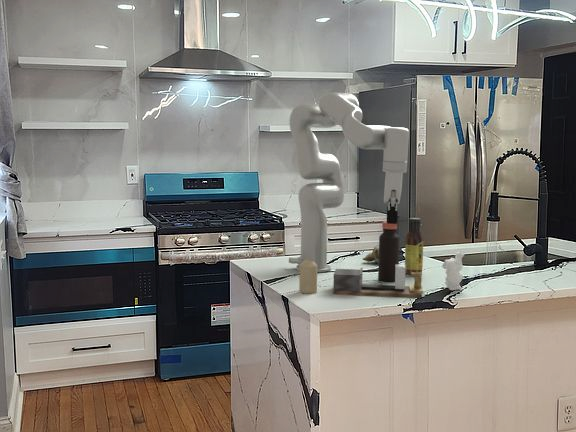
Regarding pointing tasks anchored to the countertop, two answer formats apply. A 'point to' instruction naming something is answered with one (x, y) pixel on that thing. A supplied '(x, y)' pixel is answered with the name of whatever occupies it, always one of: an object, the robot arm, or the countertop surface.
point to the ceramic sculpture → (373, 255)
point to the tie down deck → (352, 282)
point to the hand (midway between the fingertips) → (391, 221)
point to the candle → (308, 277)
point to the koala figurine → (454, 271)
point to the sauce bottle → (414, 248)
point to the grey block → (398, 280)
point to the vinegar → (388, 252)
